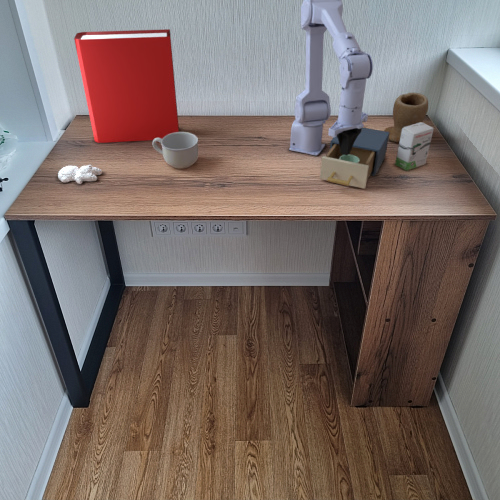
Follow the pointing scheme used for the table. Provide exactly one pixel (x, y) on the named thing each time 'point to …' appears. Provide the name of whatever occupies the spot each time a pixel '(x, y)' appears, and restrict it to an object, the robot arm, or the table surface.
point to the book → (128, 84)
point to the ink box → (414, 146)
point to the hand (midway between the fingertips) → (345, 153)
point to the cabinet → (370, 144)
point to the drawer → (347, 167)
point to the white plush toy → (79, 174)
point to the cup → (350, 158)
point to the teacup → (178, 149)
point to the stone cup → (407, 113)
